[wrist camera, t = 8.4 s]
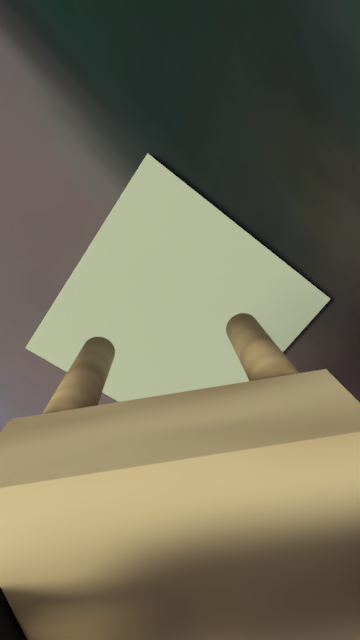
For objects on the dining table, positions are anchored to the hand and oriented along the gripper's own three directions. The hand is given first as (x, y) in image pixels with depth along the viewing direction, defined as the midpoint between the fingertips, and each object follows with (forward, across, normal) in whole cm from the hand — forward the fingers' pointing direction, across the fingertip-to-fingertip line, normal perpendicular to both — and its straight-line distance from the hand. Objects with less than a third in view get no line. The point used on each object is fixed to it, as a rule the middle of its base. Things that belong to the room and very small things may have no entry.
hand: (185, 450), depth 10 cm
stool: (+3, 0, 0) cm, 3 cm away
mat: (+12, 0, 0) cm, 12 cm away
